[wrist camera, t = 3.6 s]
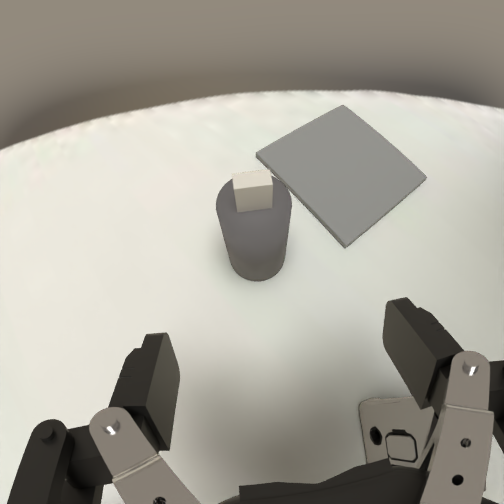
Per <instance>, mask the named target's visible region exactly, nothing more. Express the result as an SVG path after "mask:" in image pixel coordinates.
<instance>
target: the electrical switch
mask: <svg viewBox="0 0 504 504" xmlns="http://www.w3.org/2000/svg"><path fill="white" fill-rule="evenodd" d="M359 412H360V418H361V424H362V430H363V436H364V443H365V449H366V456H367V463H372V462H375V461H379V460H382V459H386V458H389V460H390V463H391V465H392V466H406V467H413V468H416V465H417V463H418V461H419V458H420V456H421V453H422V449H423V446H424V443H425V440H426V436H427V433H428V429H429V425H430V422H431V418H432V415H433V412H434V409H433V408H432V406H431V407H428V408H425V409H422V410H420V408H419V406H418V404H417V403H416V401H415V399H414V397H413V396H411V397H402V398H391V399H379V398H370V399H368V400H366V401H363V402H361V404H360V406H359ZM485 490H486V481H485V486H484V491H485ZM484 491H483V492H484Z"/></svg>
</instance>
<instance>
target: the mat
mask: <svg viewBox="0 0 504 504" xmlns="http://www.w3.org/2000/svg"><path fill="white" fill-rule="evenodd" d="M256 157H257V158H258V159H259V160H260V161H261V162H262V163H263V164H264V165H265V166H266V167H267V168H268V169H270V171H271V172H272V173H273V174H274V175H275V176H276V177H277V178H278V179H279V180H280V181H281V182H282V183H283V184H284V185H285V186H286V187H287V188H288V189H289V190H290V191H291V192H292V193H293V194H294V195H295V196H296V197H297V198H298V199H299V200H300V201H301V202H302V203H303V204H304V205H305V206H306V207H307V208H308V209H309V211H310V212H311V213H312V214H313V215H314V216H315V217H316V218H317V219H318V220H319V221H320V222H321V223H322V224H323V225H324V226H325V227H326V228H327V230H328V231H329V232H330V233H331V234H332V235H333V236H334V237H335V238H336V239H337V240H338V241H339V243H340V244H341V245H342V246H343V247H344V248H346V247H348V246H349V245H350V244H351V243H352V242H354V241H355V240H356V239H357V238H358V237H360V236H361V235H362V234H363V233H364V232H366V231H367V230H368V229H369V228H370V227H372V226H373V225H374V224H375V223H376V222H378V221H379V220H380V219H381V218H382V217H383V216H385V215H386V214H387V213H388V212H389V211H390V210H392V209H393V208H394V207H395V206H396V205H397V204H399V203H400V202H401V201H402V200H403V199H404V198H406V197H407V196H408V195H409V194H410V193H411V192H412V191H413V190H415V189H416V188H417V187H418V186H419V185H420V184H421V183H423V182H424V181H425V179H426V178H427V176H426V175H425V174H424V173H423V172H421V171H420V170H419V169H418V168H417V167H416V166H415V165H414V164H413V163H412V162H411V161H410V160H409V159H408V158H407V157H406V156H404V155H403V154H402V153H401V152H400V151H399V150H398V149H397V148H396V147H394V146H393V145H392V144H391V143H390V142H389V141H388V140H386V139H385V138H384V137H383V136H382V135H381V134H379V133H378V132H377V131H376V130H375V129H373V128H372V127H371V126H370V125H369V124H367V123H366V122H365V121H364V120H362V119H361V118H360V117H359V116H357V115H356V114H355V113H353V112H352V111H351V110H350V109H348V108H347V107H346V106H344V105H341V106H339V107H337V108H335V109H333V110H331V111H330V112H328V113H326V114H324V115H322V116H320V117H318V118H316V119H315V120H313V121H311V122H309V123H307V124H305V125H303V126H302V127H300V128H298V129H296V130H294V131H293V132H291V133H289V134H287V135H286V136H284V137H282V138H280V139H278V140H277V141H275V142H273V143H272V144H270V145H268V146H266V147H265V148H263V149H261V150H260V151H258V152H256Z"/></svg>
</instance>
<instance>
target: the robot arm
mask: <svg viewBox="0 0 504 504" xmlns="http://www.w3.org/2000/svg"><path fill="white" fill-rule="evenodd" d="M383 344H384V347H385V350H386V352H387V353H388V355H389V357H390V358H391V360H392V362H393V363H394V365H395V367H396V368H397V370H398V372H399V373H400V375H401V377H402V378H403V380H404V382H405V384H406V385H407V387H408V389H409V390H410V392H411V394H412V396H413V397H414V399H415V401H416V403H417V404H418V406H419V408H420V410H422V409H425V408H428V407H431V406H432V408H433V409H434V412H433V415H432V418H431V422H430V425H429V429H428V433H427V436H426V440H425V443H424V446H423V449H422V453H421V456H420V458H419V461H418V463H417V465H416V468H413V467H406V466H392V465H391V463H390V460H389V458H386V459H382V460H379V461H375V462H372V463H368V464H365V465H361V466H357V467H354V468H352V469H350V470H348V471H345V472H343V473H341V474H339V475H337V476H335V477H333V478H330V479H328V480H326V481H324V482H321V483H318V484H304V483H284V482H273V483H265V484H256V485H245V486H239V493H240V495H238V496H235V497H232V498H229V499H227V500H224V501H223V502H221V503H219V504H498V503H496V502H493V501H491V500H488V499H486V498H483V497H482V495H483V491H484V486H485V481H486V475H487V470H488V464H489V457H490V450H491V442H492V433H493V435H494V437H495V438H496V440H497V442H498V444H499V446H500V448H501V449H502V451H503V453H504V360H503V361H493V362H488V360H487V359H486V358H485V357H484V356H483V355H481V354H479V353H477V352H473V351H464V350H463V349H462V348H461V347H460V345H459V344H458V343H457V342H456V341H455V340H454V338H453V337H452V336H451V335H450V334H449V333H448V332H447V330H444V327H443V326H442V325H441V324H440V323H439V321H438V320H437V319H436V318H435V317H434V316H433V315H432V314H431V313H430V312H428V311H426V310H424V309H422V308H421V307H420V308H416V306H415V305H414V304H413V303H412V302H411V301H410V300H409V299H408V298H407V297H405V298H400V299H396V300H391V301H388V302H387V304H386V310H385V319H384V327H383ZM179 382H180V371H179V366H178V362H177V359H176V356H175V353H174V350H173V347H172V344H171V341H170V338H169V335H168V334H167V333H154V334H146V336H145V338H144V341H143V344H142V347H141V348H135V349H134V350H133V351H132V352H131V353H130V354H129V355H128V356H127V357H126V359H125V362H124V364H123V367H122V370H121V373H120V375H119V378H118V381H117V384H116V386H115V389H114V392H113V395H112V398H111V401H110V404H109V406H108V408H105V409H103V410H101V411H99V412H98V413H97V414H95V415H94V417H93V418H92V419H91V421H90V424H89V425H86V426H82V427H77V428H72V429H67V428H66V427H65V425H64V424H63V423H62V422H61V421H59V420H55V419H50V420H46V421H43V422H41V423H40V424H38V425H37V426H36V427H35V428H34V430H33V432H32V434H31V436H30V439H29V441H28V444H27V446H26V449H25V452H24V454H23V457H22V460H21V463H20V465H19V468H18V471H17V474H16V477H15V480H14V483H13V486H12V489H11V492H10V495H9V499H8V502H7V504H101V499H102V493H103V487H104V485H105V484H111V483H113V484H114V486H115V487H116V489H117V491H118V492H119V494H120V496H121V497H122V499H123V501H124V502H125V504H200V503H199V501H198V500H197V499H196V498H195V497H194V496H193V495H192V494H191V492H190V491H189V490H188V489H187V488H186V487H185V485H184V484H183V483H182V482H181V481H180V480H179V478H178V477H177V476H176V475H175V473H174V472H173V471H172V470H171V469H170V467H169V466H168V465H167V463H166V462H165V461H164V460H163V458H162V457H161V456H160V455H158V453H159V451H170V444H171V436H172V429H173V422H174V415H175V408H176V401H177V395H178V388H179Z"/></svg>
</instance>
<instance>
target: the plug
mask: <svg viewBox="0 0 504 504" xmlns="http://www.w3.org/2000/svg"><path fill="white" fill-rule="evenodd" d="M232 178H233V179H231V180H230V181H228V182H227V183H226V184H225V185H224V186H223V187H222V189H221V190H220V192H219V194H218V197H217V201H216V210H217V215H218V218H219V222H220V226H221V229H222V233H223V237H224V240H225V244H226V247H227V251H228V255H229V258H230V262H231V265H232V267H233V269H234V270H235V271H236V273H237V274H239V275H240V276H241V277H243V278H245V279H247V280H250V281H264V280H267V279H270V278H272V277H273V276H275V275H276V274H277V273H278V272H279V271H280V269H281V268H282V266H283V263H284V259H285V253H286V245H287V238H288V231H289V223H290V216H291V208H292V201H291V196H290V193H289V191H288V189H287V188H286V186H285V185H284V184H283V183H282V182H281V181H279V180H278V179H276V178H275V177H273V176H271V173H270V169H267V170H258V171H250V172H242V173H234V174H232Z"/></svg>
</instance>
